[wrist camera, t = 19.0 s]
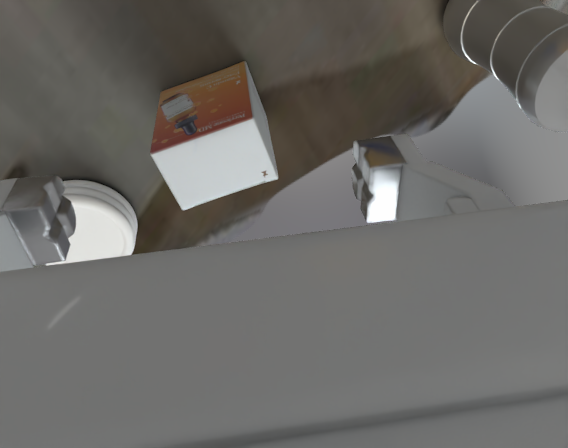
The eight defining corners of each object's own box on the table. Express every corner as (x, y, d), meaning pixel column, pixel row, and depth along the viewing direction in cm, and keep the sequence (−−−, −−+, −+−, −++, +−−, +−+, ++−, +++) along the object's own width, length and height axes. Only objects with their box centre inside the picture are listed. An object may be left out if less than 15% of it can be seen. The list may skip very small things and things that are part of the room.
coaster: (152, 200, 49) (150, 221, 46) (118, 266, 54) (114, 289, 51) (47, 161, 45) (37, 183, 42) (20, 237, 50) (10, 261, 47)
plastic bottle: (521, -34, 39) (728, 54, 24) (495, 50, 44) (656, 171, 28) (446, -37, 39) (610, 54, 23) (426, 50, 43) (553, 174, 27)
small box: (245, 58, 41) (256, 115, 33) (267, 115, 45) (281, 179, 37) (157, 90, 42) (147, 153, 34) (185, 144, 45) (181, 213, 37)
